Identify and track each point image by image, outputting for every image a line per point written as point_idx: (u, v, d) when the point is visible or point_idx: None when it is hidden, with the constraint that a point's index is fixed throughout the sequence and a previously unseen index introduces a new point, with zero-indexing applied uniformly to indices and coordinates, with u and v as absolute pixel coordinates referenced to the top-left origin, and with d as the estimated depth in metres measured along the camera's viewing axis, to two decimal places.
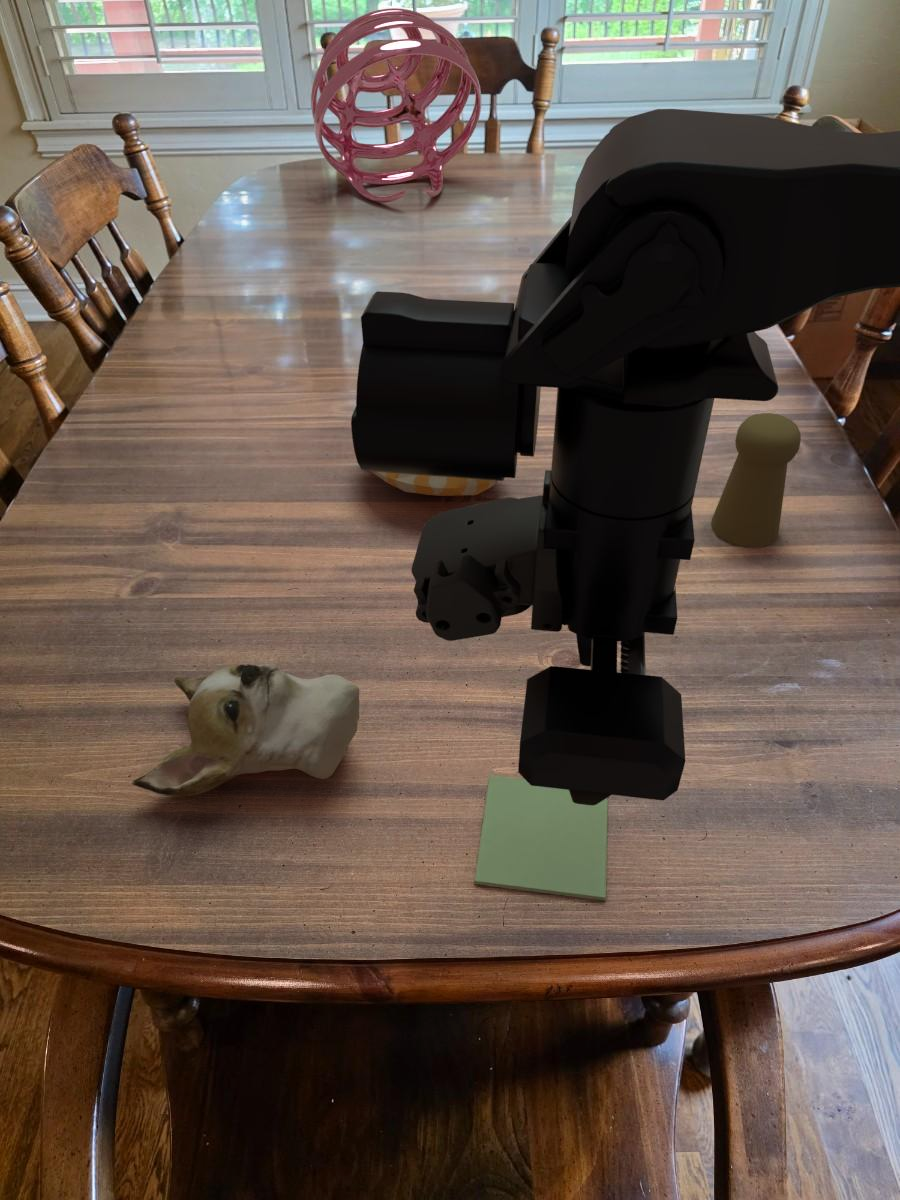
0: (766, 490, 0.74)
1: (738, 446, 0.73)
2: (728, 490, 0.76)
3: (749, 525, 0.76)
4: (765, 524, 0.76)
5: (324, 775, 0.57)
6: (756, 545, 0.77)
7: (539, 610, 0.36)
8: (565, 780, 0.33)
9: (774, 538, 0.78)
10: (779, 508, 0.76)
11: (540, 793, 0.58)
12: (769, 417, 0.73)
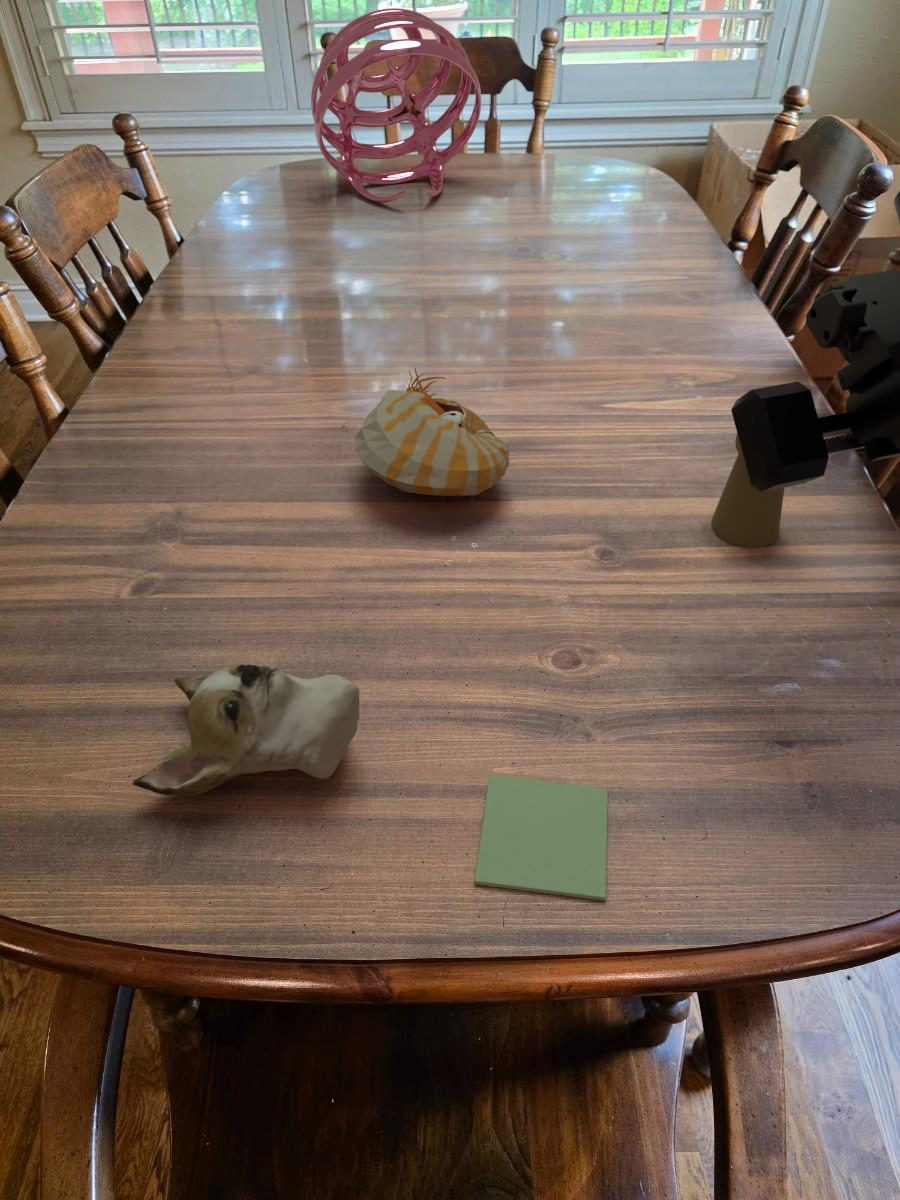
0: None
1: (738, 446, 0.73)
2: (728, 490, 0.76)
3: (749, 525, 0.76)
4: (765, 524, 0.76)
5: (324, 775, 0.57)
6: (756, 545, 0.77)
7: (849, 369, 0.53)
8: (740, 426, 0.55)
9: (774, 538, 0.78)
10: (779, 508, 0.76)
11: (540, 793, 0.58)
12: None
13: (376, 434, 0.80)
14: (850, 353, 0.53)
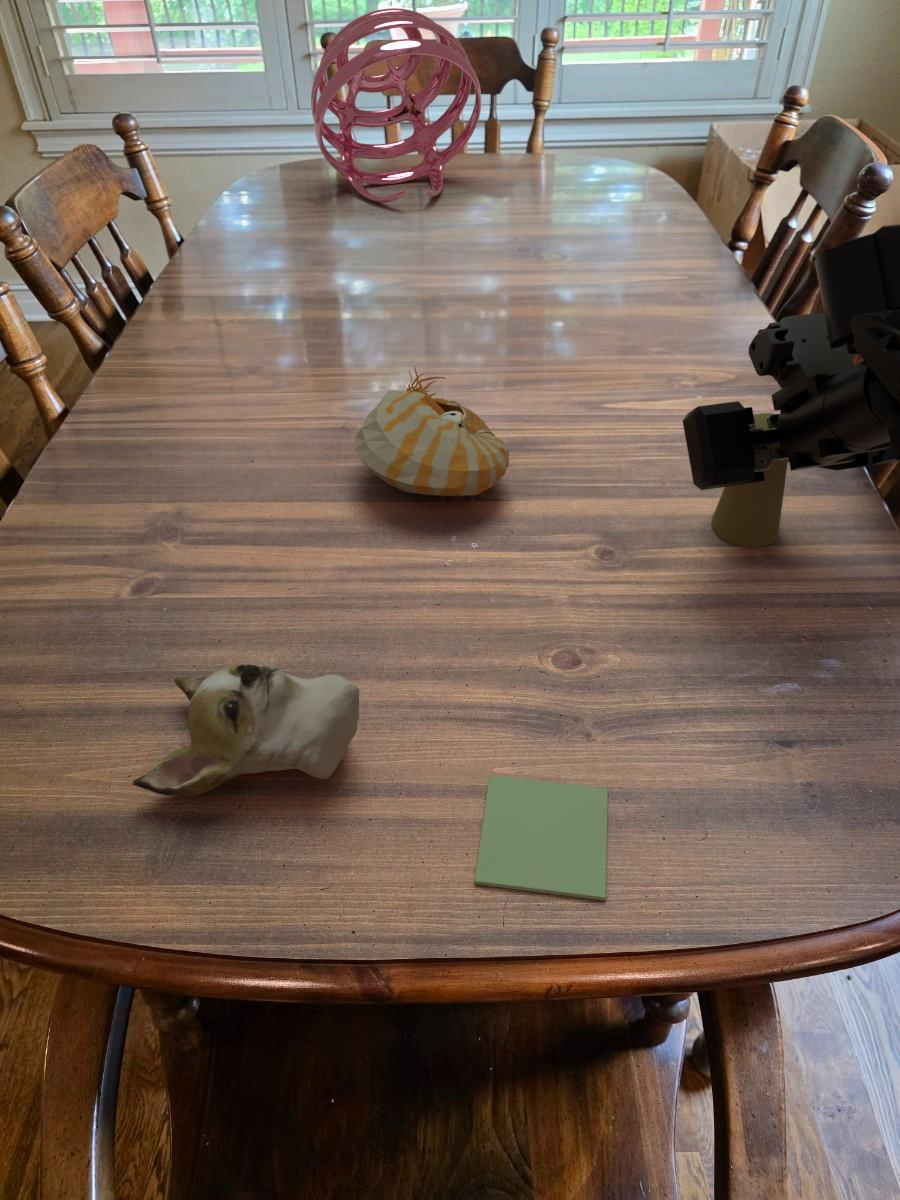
0: (766, 490, 0.74)
1: None
2: (728, 490, 0.76)
3: (749, 525, 0.76)
4: (765, 524, 0.76)
5: (324, 775, 0.57)
6: (756, 545, 0.77)
7: (779, 394, 0.65)
8: (688, 435, 0.67)
9: (774, 538, 0.78)
10: (779, 508, 0.76)
11: (540, 793, 0.58)
12: None
13: (376, 434, 0.80)
14: (781, 381, 0.65)
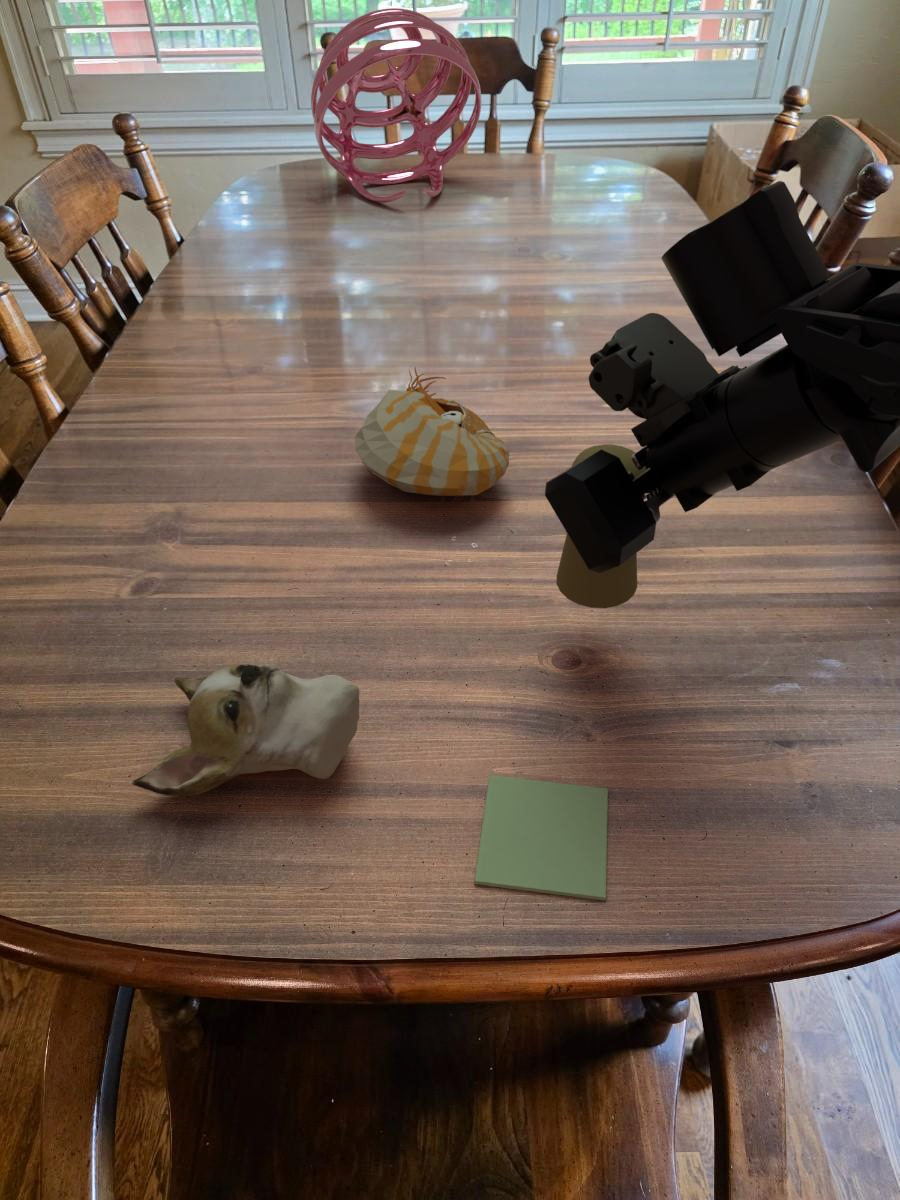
0: None
1: None
2: None
3: (615, 581, 0.62)
4: (630, 572, 0.62)
5: (324, 775, 0.57)
6: (625, 599, 0.63)
7: (646, 426, 0.51)
8: (561, 511, 0.50)
9: None
10: None
11: (540, 793, 0.58)
12: None
13: (376, 434, 0.80)
14: None
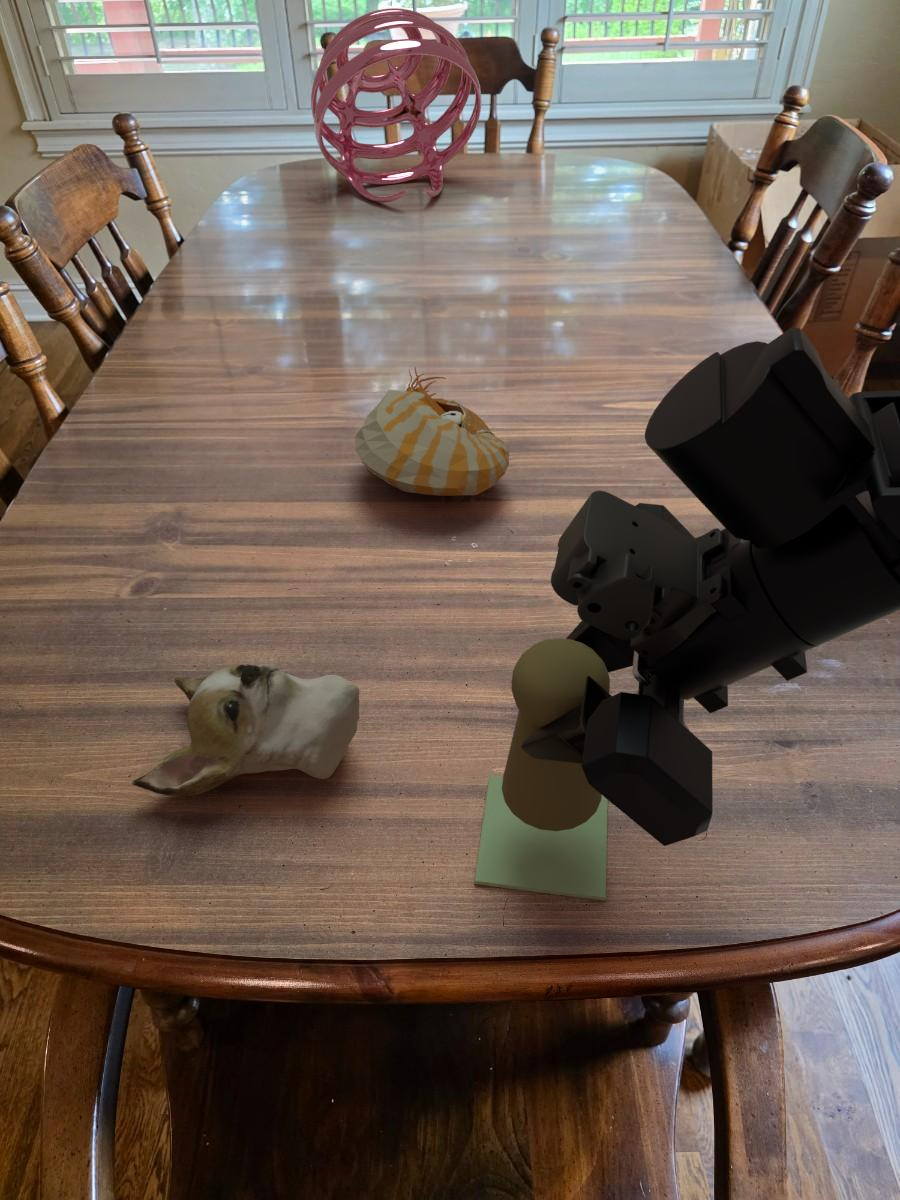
0: None
1: None
2: (547, 776, 0.48)
3: (593, 789, 0.50)
4: None
5: (324, 775, 0.57)
6: (600, 799, 0.51)
7: (655, 640, 0.39)
8: (619, 796, 0.36)
9: None
10: None
11: None
12: (548, 658, 0.45)
13: (376, 434, 0.80)
14: None
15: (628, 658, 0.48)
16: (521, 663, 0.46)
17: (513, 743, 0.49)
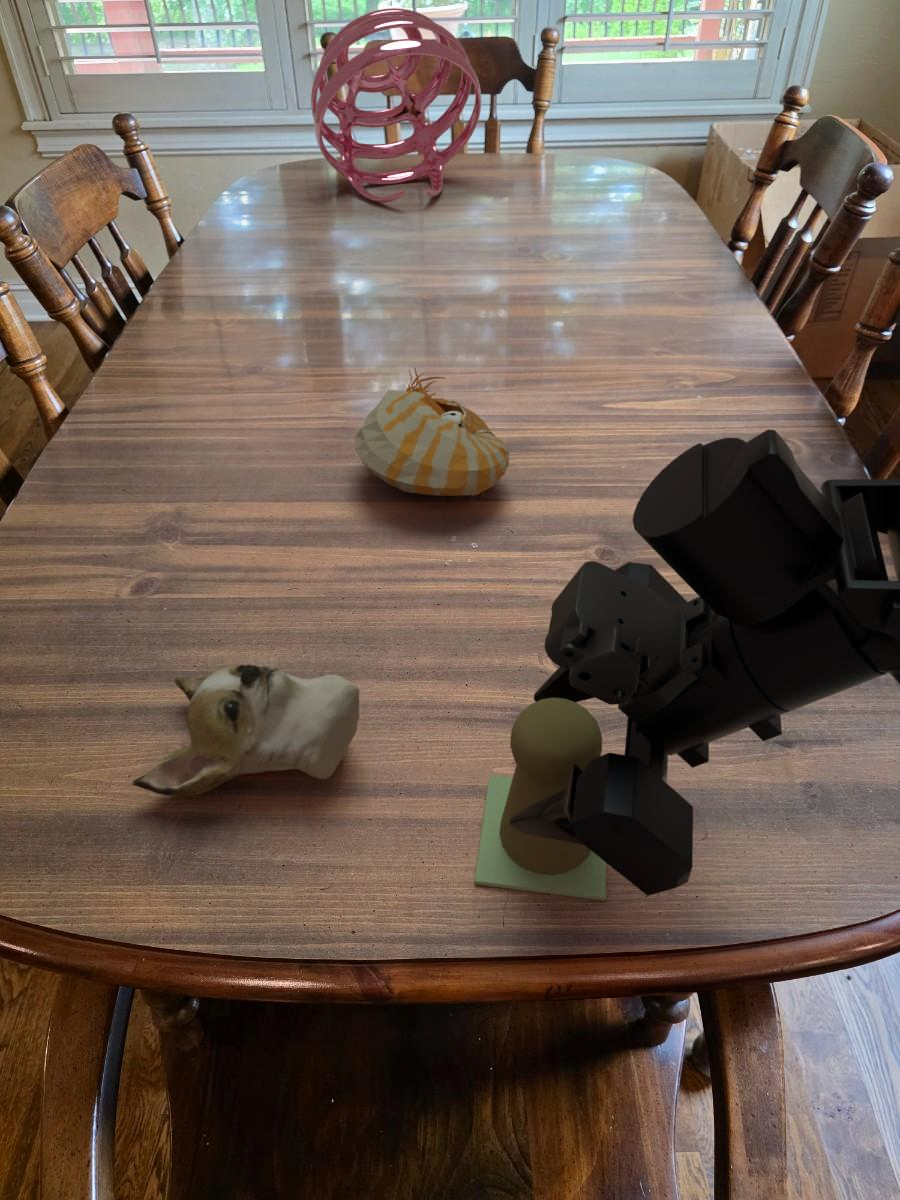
0: None
1: (548, 781, 0.48)
2: None
3: None
4: None
5: (324, 775, 0.57)
6: None
7: (641, 703, 0.42)
8: (606, 851, 0.39)
9: None
10: None
11: None
12: (545, 718, 0.48)
13: (376, 434, 0.80)
14: None
15: None
16: (520, 723, 0.49)
17: (511, 793, 0.52)
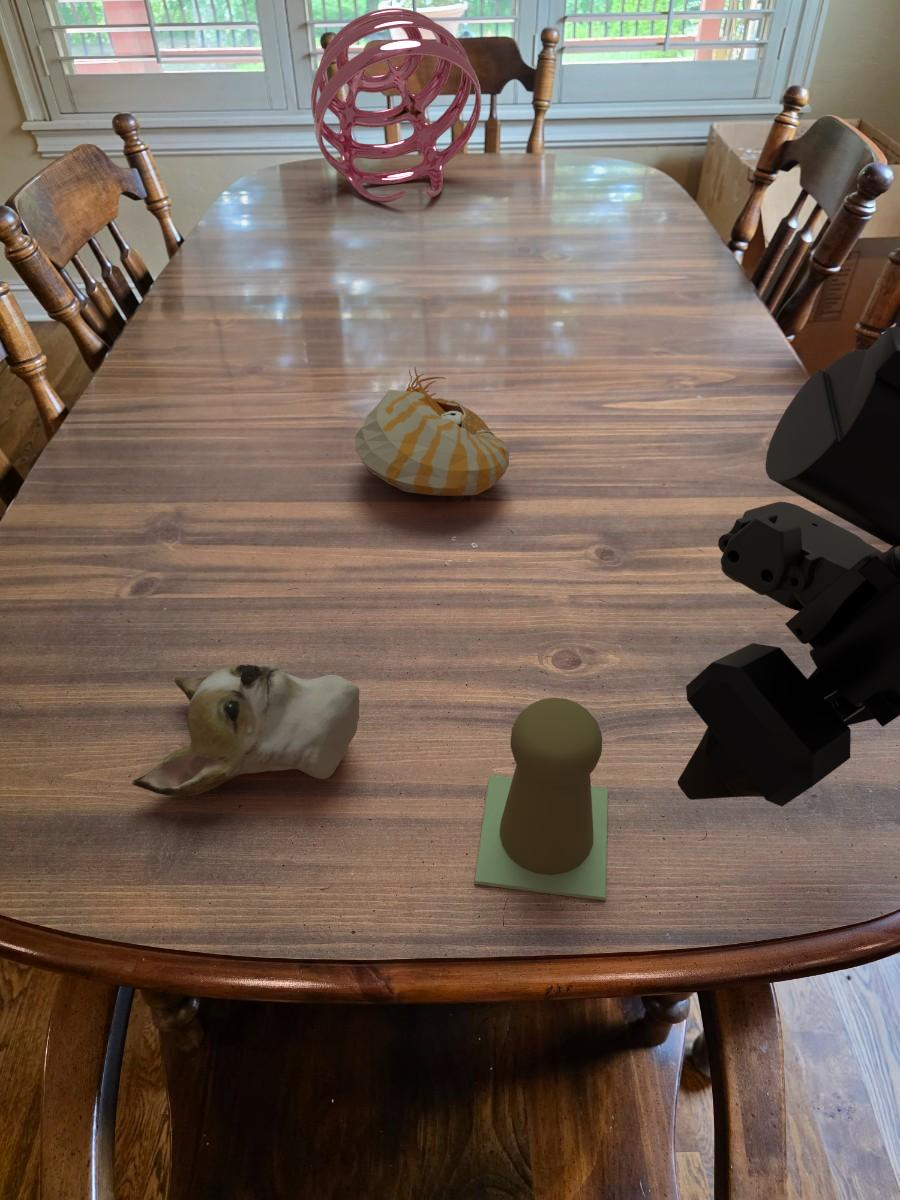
0: (589, 791, 0.51)
1: (548, 781, 0.48)
2: (543, 825, 0.51)
3: (585, 836, 0.53)
4: None
5: (324, 775, 0.57)
6: (592, 843, 0.55)
7: (806, 614, 0.39)
8: (714, 717, 0.36)
9: None
10: None
11: None
12: (545, 718, 0.48)
13: (376, 434, 0.80)
14: (799, 593, 0.39)
15: (860, 710, 0.46)
16: (520, 722, 0.49)
17: (511, 793, 0.52)
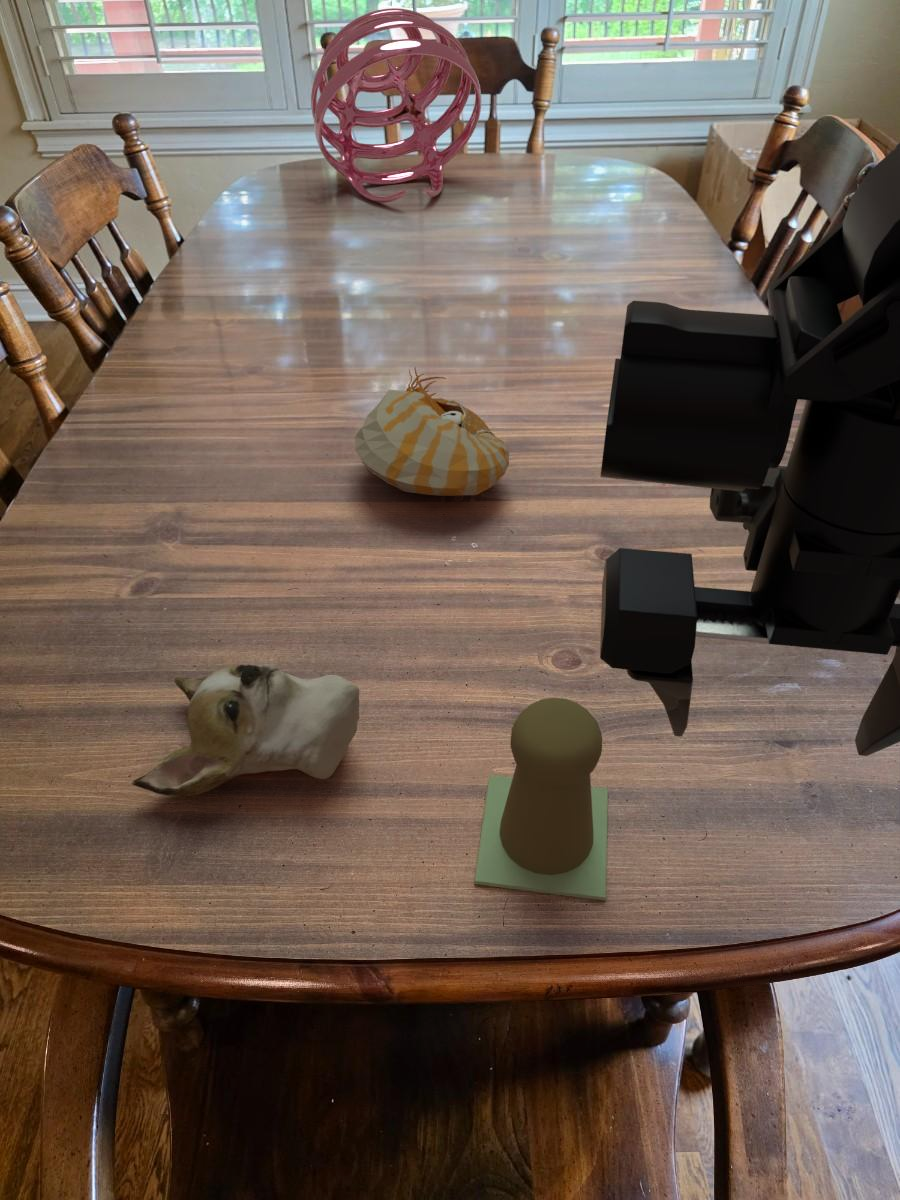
0: (589, 791, 0.51)
1: (548, 781, 0.48)
2: (543, 825, 0.51)
3: (585, 836, 0.53)
4: None
5: (324, 775, 0.57)
6: (592, 843, 0.55)
7: (748, 539, 0.40)
8: (602, 594, 0.42)
9: None
10: None
11: None
12: (545, 718, 0.48)
13: (376, 434, 0.80)
14: (750, 522, 0.41)
15: None
16: (520, 722, 0.49)
17: (511, 793, 0.52)
